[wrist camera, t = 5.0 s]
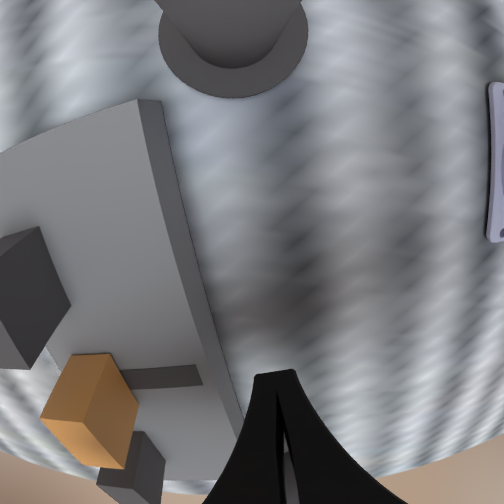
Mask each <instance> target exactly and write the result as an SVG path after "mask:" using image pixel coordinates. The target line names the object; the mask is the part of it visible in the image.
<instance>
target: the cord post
mask: <svg viewBox="0 0 504 504" xmlns="http://www.w3.org/2000/svg"><path fill="white" fill-rule="evenodd" d="M284 456H285V488H286V498H287V504H299V497H298V490H297V484H296V479H295V475H294V471H293V467H292V463H291V459H290V455H289V451H288V447H287V442H286V438H285V434H284Z"/></svg>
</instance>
